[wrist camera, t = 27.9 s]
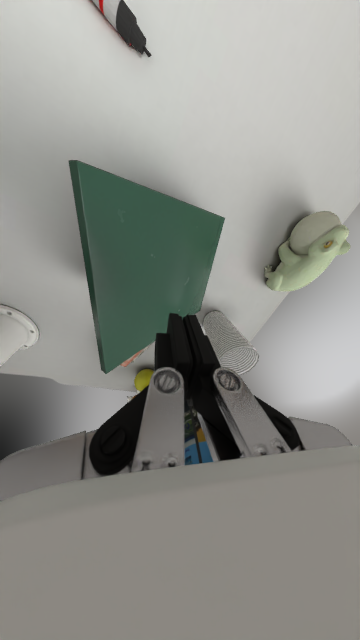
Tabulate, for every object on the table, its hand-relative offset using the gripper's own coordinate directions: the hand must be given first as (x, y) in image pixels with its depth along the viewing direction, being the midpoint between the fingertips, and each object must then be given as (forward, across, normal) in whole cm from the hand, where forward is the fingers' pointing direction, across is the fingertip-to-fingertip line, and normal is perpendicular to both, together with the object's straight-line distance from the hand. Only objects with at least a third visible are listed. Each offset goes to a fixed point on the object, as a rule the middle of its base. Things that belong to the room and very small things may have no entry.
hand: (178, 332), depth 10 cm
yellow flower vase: (+26, +2, +37) cm, 46 cm away
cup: (+27, -16, +15) cm, 34 cm away
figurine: (+27, -29, -4) cm, 40 cm away
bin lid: (+11, 0, 0) cm, 11 cm away
